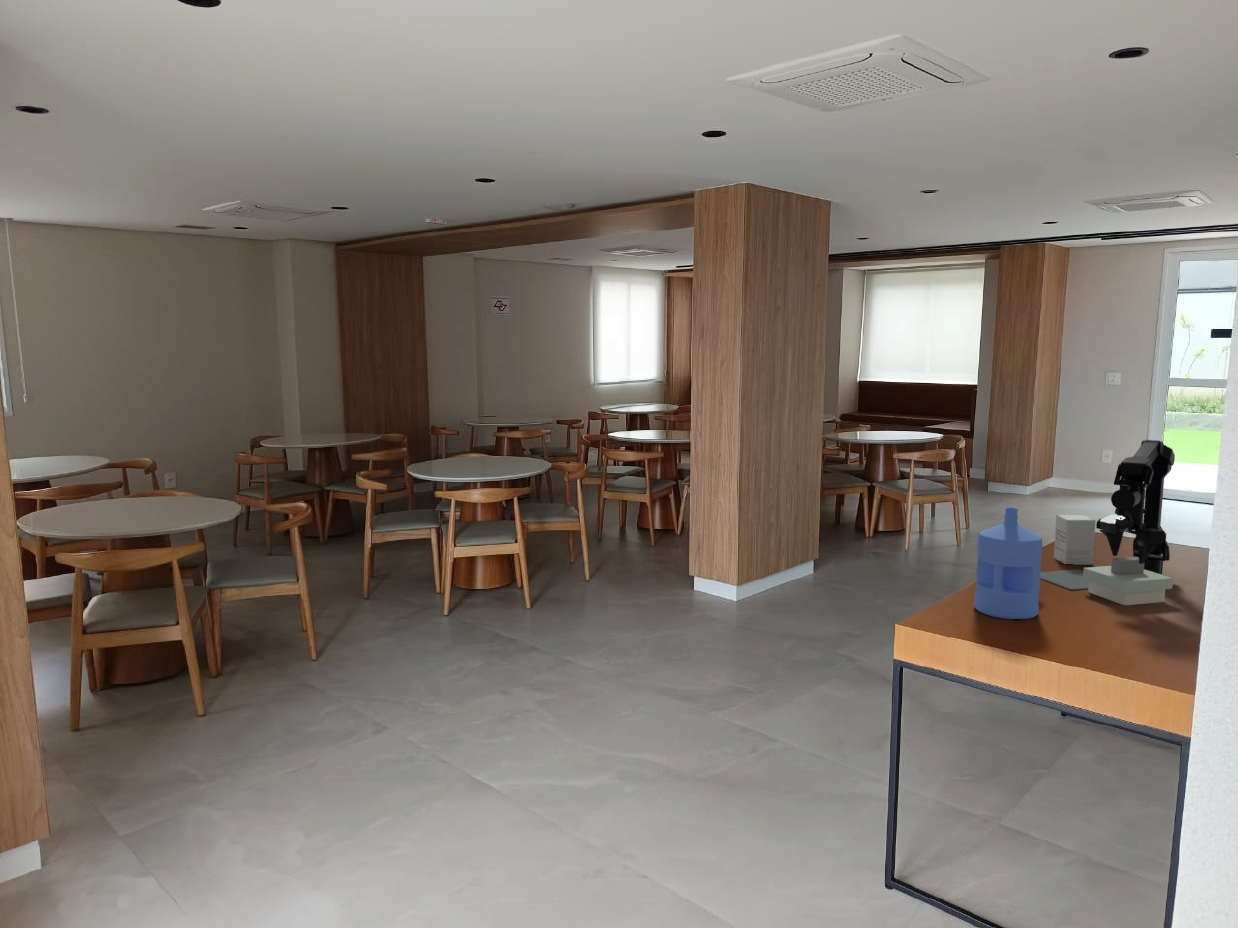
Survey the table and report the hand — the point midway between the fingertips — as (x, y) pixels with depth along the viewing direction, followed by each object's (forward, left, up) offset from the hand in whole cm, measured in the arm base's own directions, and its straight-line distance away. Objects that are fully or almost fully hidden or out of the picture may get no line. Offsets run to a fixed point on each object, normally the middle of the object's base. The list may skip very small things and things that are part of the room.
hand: (1127, 559), depth 233 cm
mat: (+1, -18, -11) cm, 21 cm away
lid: (0, 0, -7) cm, 7 cm away
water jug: (+41, +3, -11) cm, 43 cm away
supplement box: (-15, -37, -11) cm, 41 cm away
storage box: (0, 0, -11) cm, 11 cm away
